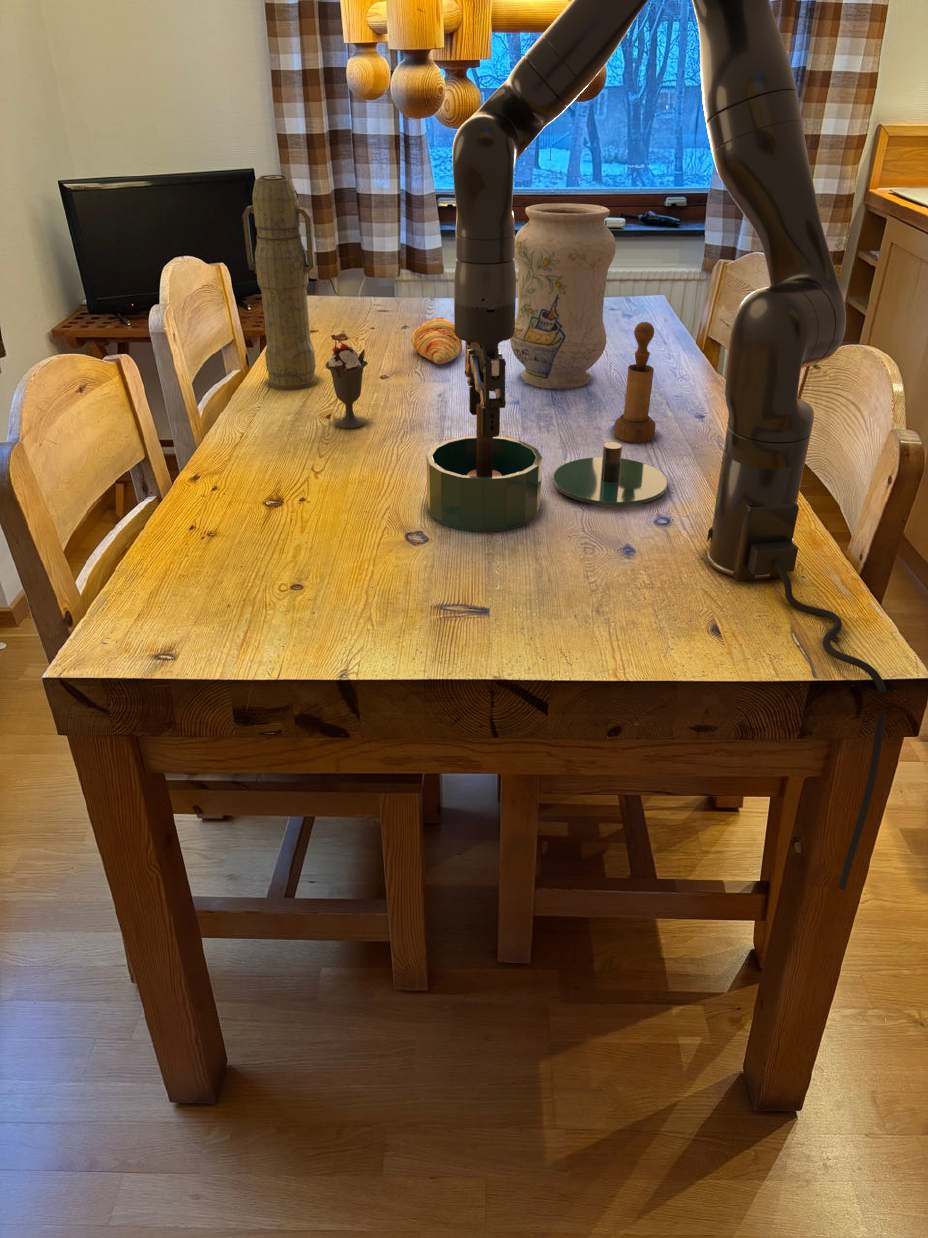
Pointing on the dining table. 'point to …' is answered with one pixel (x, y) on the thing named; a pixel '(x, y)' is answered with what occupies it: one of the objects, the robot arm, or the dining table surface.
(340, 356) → the sundae
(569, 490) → the lid
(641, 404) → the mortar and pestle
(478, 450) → the brush
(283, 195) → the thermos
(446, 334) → the croissant
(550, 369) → the vase
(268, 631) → the dining table surface
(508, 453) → the pot
